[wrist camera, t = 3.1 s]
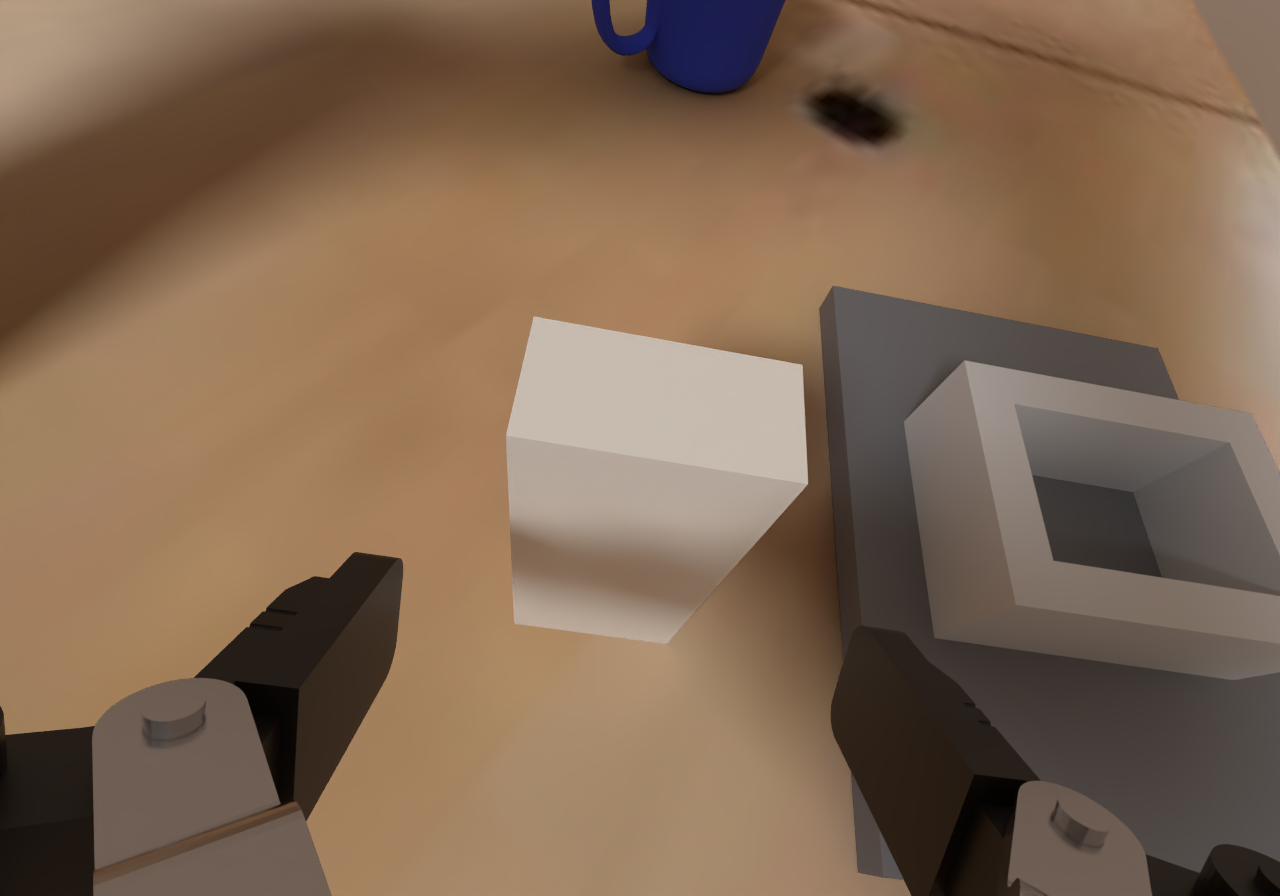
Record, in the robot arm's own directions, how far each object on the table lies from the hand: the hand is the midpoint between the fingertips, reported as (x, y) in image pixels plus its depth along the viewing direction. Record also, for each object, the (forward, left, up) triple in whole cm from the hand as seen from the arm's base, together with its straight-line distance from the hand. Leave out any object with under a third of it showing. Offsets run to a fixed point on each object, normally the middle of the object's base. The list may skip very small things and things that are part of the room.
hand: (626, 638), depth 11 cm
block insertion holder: (+3, +18, -10) cm, 21 cm away
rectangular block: (-3, +2, -10) cm, 10 cm away
